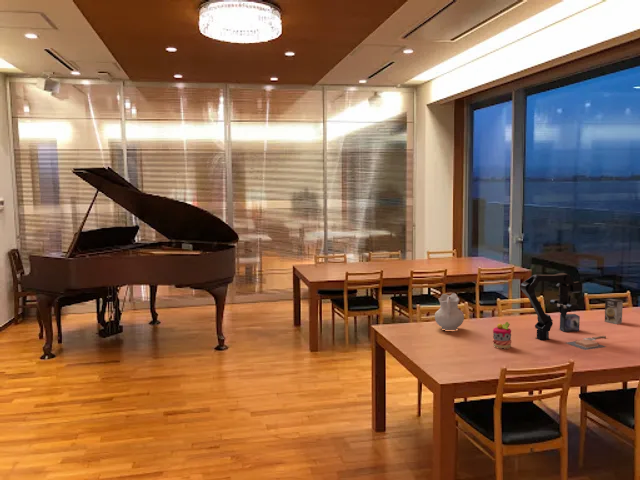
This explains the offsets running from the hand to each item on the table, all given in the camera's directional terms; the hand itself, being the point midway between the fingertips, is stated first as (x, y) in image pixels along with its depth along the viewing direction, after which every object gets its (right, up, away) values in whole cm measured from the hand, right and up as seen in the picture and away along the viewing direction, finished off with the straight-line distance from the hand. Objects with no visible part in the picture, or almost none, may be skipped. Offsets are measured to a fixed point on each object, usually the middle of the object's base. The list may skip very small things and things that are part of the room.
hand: (563, 317), depth 333 cm
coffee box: (+50, -9, +35) cm, 62 cm away
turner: (+18, -13, -4) cm, 22 cm away
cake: (-43, -16, -13) cm, 48 cm away
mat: (+6, -14, -16) cm, 22 cm away
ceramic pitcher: (-65, -13, +28) cm, 72 cm away
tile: (+5, -13, -13) cm, 19 cm away
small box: (+12, -11, +18) cm, 24 cm away
